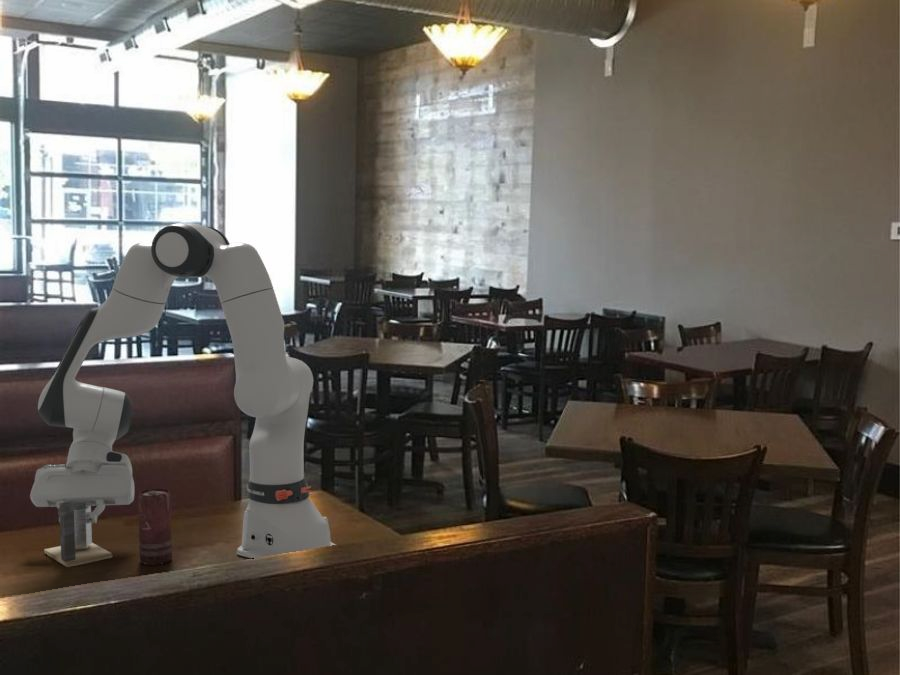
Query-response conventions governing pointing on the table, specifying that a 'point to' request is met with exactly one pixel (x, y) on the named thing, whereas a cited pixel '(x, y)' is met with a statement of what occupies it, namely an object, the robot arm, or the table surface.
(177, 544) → the table surface
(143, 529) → the can
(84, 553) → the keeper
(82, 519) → the grey square pillar
